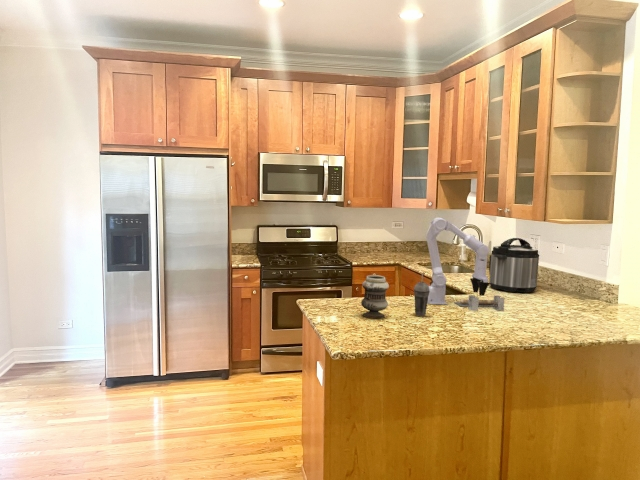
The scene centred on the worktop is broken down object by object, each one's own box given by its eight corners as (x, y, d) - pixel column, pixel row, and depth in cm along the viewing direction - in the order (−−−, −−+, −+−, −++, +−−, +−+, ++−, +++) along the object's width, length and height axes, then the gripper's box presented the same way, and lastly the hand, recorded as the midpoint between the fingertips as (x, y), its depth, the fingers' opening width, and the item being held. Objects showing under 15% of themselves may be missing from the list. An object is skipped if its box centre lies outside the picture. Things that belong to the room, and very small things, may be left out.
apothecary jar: (370, 320, 202) (372, 279, 201) (355, 313, 213) (357, 275, 211) (392, 318, 208) (394, 278, 206) (377, 311, 219) (379, 273, 217)
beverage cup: (429, 314, 217) (431, 272, 215) (427, 318, 210) (430, 274, 208) (413, 312, 219) (415, 270, 217) (411, 316, 212) (413, 272, 210)
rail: (461, 304, 237) (462, 300, 237) (460, 303, 240) (460, 298, 239) (495, 305, 239) (496, 300, 238) (493, 303, 241) (494, 299, 241)
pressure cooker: (526, 285, 300) (530, 236, 297) (547, 295, 272) (551, 241, 269) (479, 284, 300) (483, 235, 297) (495, 293, 272) (499, 239, 269)
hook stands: (471, 310, 227) (472, 297, 227) (467, 308, 232) (468, 295, 232) (503, 311, 229) (504, 298, 228) (498, 308, 234) (499, 295, 233)
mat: (460, 306, 234) (460, 305, 234) (454, 303, 242) (454, 302, 242) (502, 307, 236) (502, 306, 236) (495, 303, 244) (495, 302, 244)
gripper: (494, 270, 231) (492, 297, 232) (482, 265, 245) (480, 291, 246) (480, 269, 230) (478, 296, 231) (469, 265, 244) (467, 290, 246)
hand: (478, 293), depth 239 cm, fingers open, 7 cm apart
